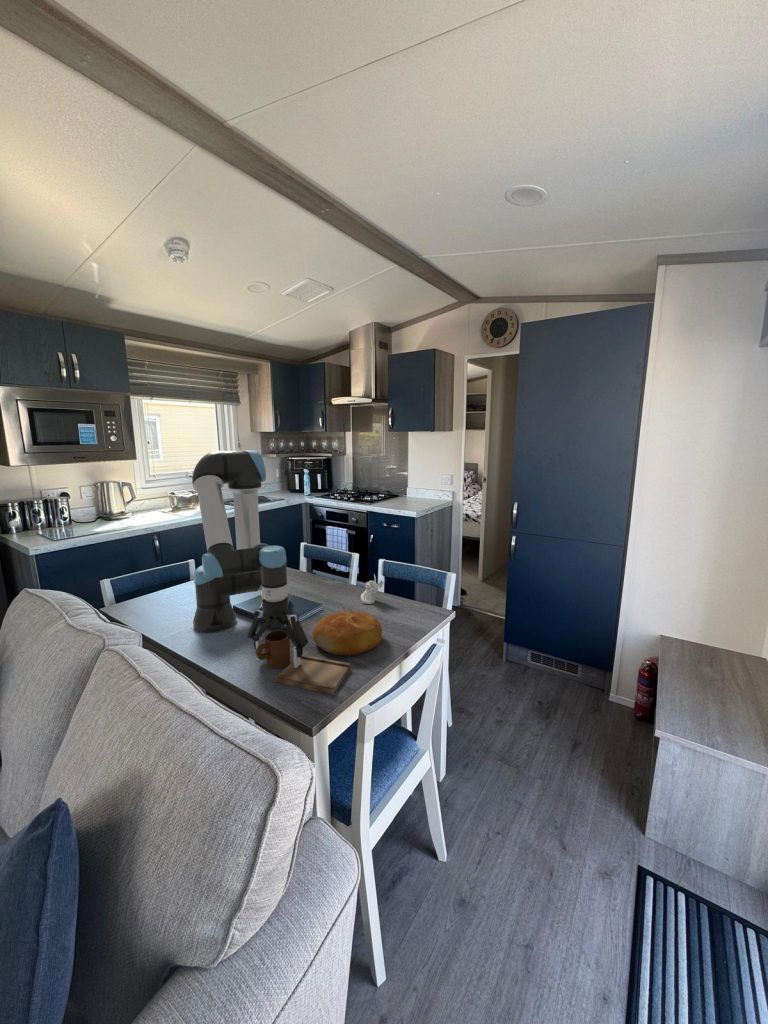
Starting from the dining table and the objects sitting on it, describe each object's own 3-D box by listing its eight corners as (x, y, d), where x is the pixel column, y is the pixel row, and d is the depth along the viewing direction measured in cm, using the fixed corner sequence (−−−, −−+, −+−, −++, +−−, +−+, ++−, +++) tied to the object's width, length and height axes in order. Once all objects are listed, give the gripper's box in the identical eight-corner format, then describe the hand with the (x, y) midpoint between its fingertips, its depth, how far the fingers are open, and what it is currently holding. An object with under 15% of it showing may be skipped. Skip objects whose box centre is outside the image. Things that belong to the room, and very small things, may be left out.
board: (276, 682, 125) (276, 676, 125) (298, 659, 137) (298, 653, 137) (332, 694, 120) (332, 687, 119) (350, 669, 132) (350, 663, 132)
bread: (334, 622, 163) (334, 598, 161) (391, 634, 154) (392, 608, 152) (301, 651, 143) (300, 623, 141) (365, 666, 134) (364, 637, 132)
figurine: (358, 603, 180) (357, 576, 178) (365, 596, 187) (365, 570, 185) (381, 607, 177) (382, 580, 174) (388, 600, 184) (388, 573, 181)
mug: (266, 679, 127) (264, 650, 125) (249, 671, 131) (247, 642, 129) (295, 661, 136) (294, 634, 134) (279, 654, 141) (278, 627, 139)
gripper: (232, 597, 129) (237, 662, 133) (305, 607, 121) (308, 675, 126) (247, 588, 136) (251, 650, 140) (317, 597, 128) (320, 662, 133)
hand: (278, 662), depth 133 cm, fingers open, 12 cm apart
